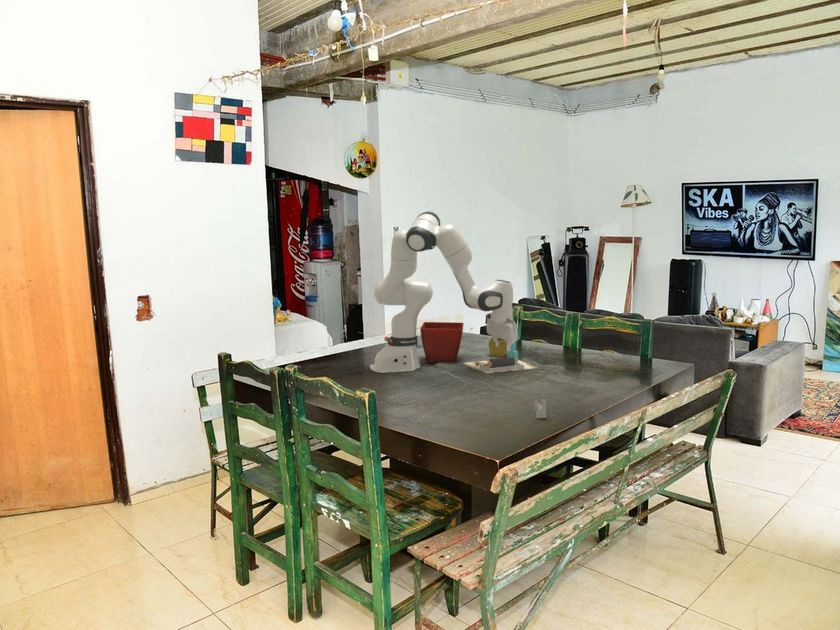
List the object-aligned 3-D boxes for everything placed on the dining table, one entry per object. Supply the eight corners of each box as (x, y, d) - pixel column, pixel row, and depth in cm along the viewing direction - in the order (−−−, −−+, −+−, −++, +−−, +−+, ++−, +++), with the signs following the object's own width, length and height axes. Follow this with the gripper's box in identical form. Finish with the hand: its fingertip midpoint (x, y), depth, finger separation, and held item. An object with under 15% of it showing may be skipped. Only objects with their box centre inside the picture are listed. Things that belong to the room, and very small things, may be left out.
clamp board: (485, 376, 284) (485, 370, 283) (462, 365, 304) (462, 359, 304) (538, 370, 293) (538, 364, 293) (512, 360, 314) (512, 354, 313)
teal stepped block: (514, 362, 302) (514, 343, 301) (507, 359, 308) (507, 341, 307) (517, 362, 303) (518, 343, 302) (511, 359, 309) (511, 341, 307)
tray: (489, 372, 285) (489, 368, 285) (479, 368, 294) (479, 364, 293) (524, 368, 292) (524, 365, 292) (513, 364, 300) (513, 360, 300)
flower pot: (509, 356, 323) (509, 337, 322) (506, 360, 315) (507, 341, 313) (490, 355, 325) (491, 337, 324) (488, 359, 317) (488, 340, 315)
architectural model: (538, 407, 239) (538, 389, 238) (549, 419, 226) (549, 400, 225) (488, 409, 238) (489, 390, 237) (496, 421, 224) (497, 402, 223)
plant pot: (463, 356, 323) (463, 322, 320) (462, 365, 304) (462, 328, 301) (424, 356, 325) (423, 321, 322) (420, 365, 306) (419, 328, 303)
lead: (489, 369, 289) (490, 360, 288) (486, 368, 292) (486, 359, 291) (517, 366, 294) (517, 357, 293) (513, 365, 297) (513, 356, 296)
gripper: (522, 320, 283) (521, 352, 286) (496, 312, 302) (496, 343, 304) (509, 321, 281) (508, 353, 283) (484, 313, 299) (483, 344, 301)
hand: (501, 348), depth 294 cm, fingers open, 8 cm apart
